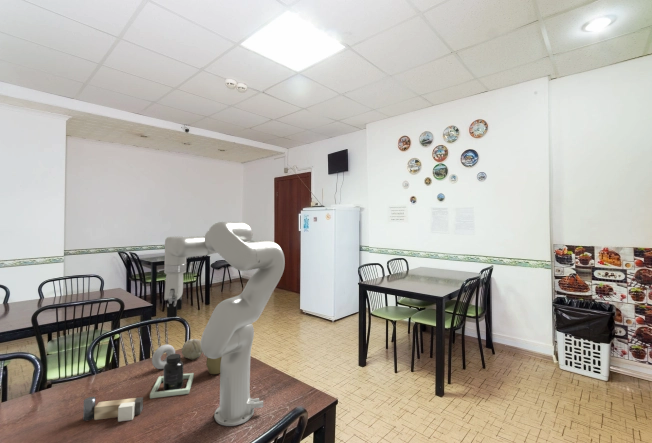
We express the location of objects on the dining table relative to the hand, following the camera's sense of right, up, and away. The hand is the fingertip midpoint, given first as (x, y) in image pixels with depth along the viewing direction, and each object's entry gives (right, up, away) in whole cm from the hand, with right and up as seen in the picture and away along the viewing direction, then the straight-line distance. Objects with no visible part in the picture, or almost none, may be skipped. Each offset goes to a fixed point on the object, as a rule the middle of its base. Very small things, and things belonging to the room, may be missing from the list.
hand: (174, 313), depth 119 cm
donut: (-12, -28, +15) cm, 34 cm away
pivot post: (-18, -28, -19) cm, 38 cm away
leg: (-10, -28, -17) cm, 34 cm away
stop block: (-6, -28, -19) cm, 35 cm away
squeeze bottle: (+11, -29, +13) cm, 33 cm away
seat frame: (-1, -28, 0) cm, 28 cm away
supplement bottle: (0, -29, 0) cm, 29 cm away
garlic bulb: (-4, -28, +25) cm, 38 cm away
